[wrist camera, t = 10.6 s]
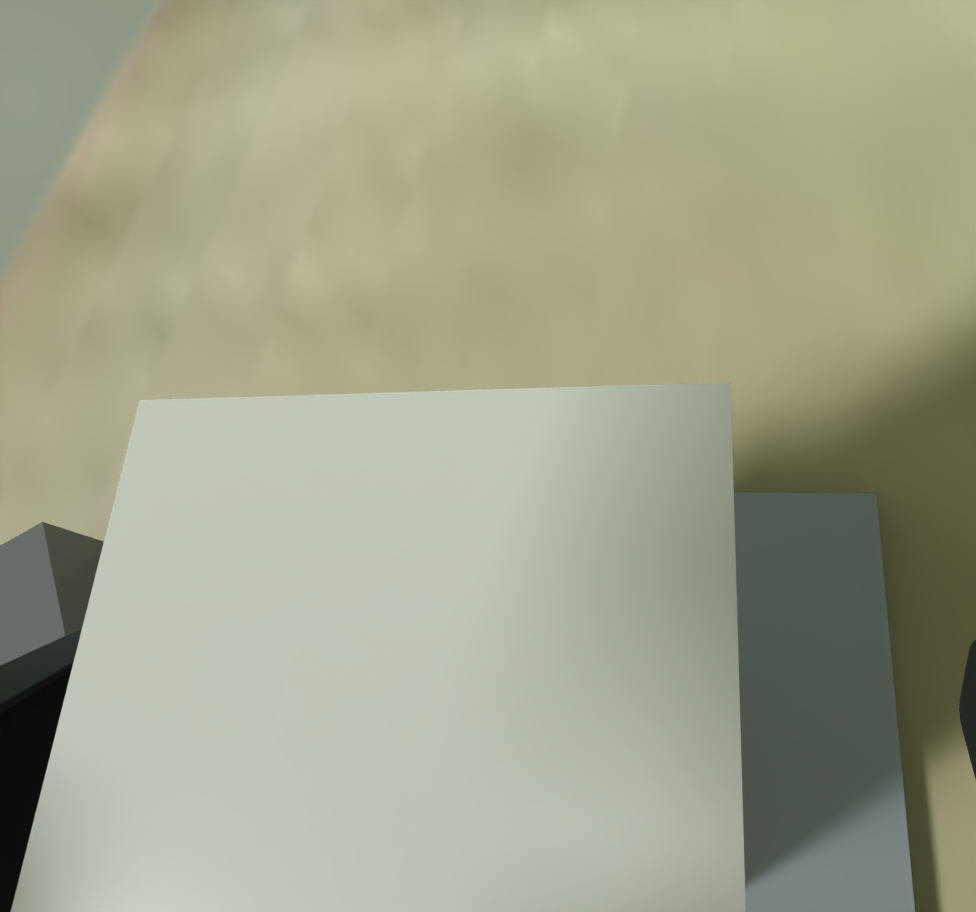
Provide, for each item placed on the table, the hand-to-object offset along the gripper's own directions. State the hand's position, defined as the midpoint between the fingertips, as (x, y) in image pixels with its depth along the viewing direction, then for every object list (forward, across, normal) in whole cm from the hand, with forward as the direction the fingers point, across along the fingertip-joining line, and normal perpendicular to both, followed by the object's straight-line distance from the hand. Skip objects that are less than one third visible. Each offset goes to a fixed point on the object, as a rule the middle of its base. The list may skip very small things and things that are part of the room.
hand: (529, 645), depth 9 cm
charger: (+4, 0, +6) cm, 8 cm away
